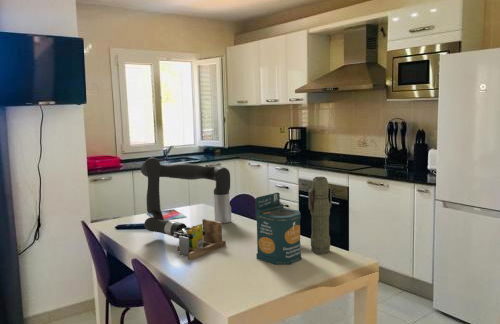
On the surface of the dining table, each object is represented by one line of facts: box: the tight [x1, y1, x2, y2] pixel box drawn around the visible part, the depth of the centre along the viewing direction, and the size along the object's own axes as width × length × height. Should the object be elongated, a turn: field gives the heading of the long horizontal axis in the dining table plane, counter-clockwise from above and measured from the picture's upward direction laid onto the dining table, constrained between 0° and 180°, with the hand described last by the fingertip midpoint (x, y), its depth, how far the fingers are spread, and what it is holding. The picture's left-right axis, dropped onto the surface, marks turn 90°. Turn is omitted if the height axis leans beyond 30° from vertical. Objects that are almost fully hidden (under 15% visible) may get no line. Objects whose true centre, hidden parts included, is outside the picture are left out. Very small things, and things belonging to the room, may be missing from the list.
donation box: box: [254, 192, 302, 266], centre depth 191 cm, size 16×16×28 cm
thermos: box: [307, 176, 333, 255], centre depth 198 cm, size 9×12×35 cm
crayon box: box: [188, 223, 203, 249], centre depth 207 cm, size 7×3×12 cm, turn 140°
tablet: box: [146, 209, 187, 221], centre depth 277 cm, size 19×25×1 cm
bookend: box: [178, 236, 189, 258], centre depth 199 cm, size 6×4×9 cm, turn 52°
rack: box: [176, 218, 227, 261], centre depth 206 cm, size 14×24×12 cm, turn 142°
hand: (198, 235), depth 205 cm, fingers closed on crayon box, 7 cm apart
